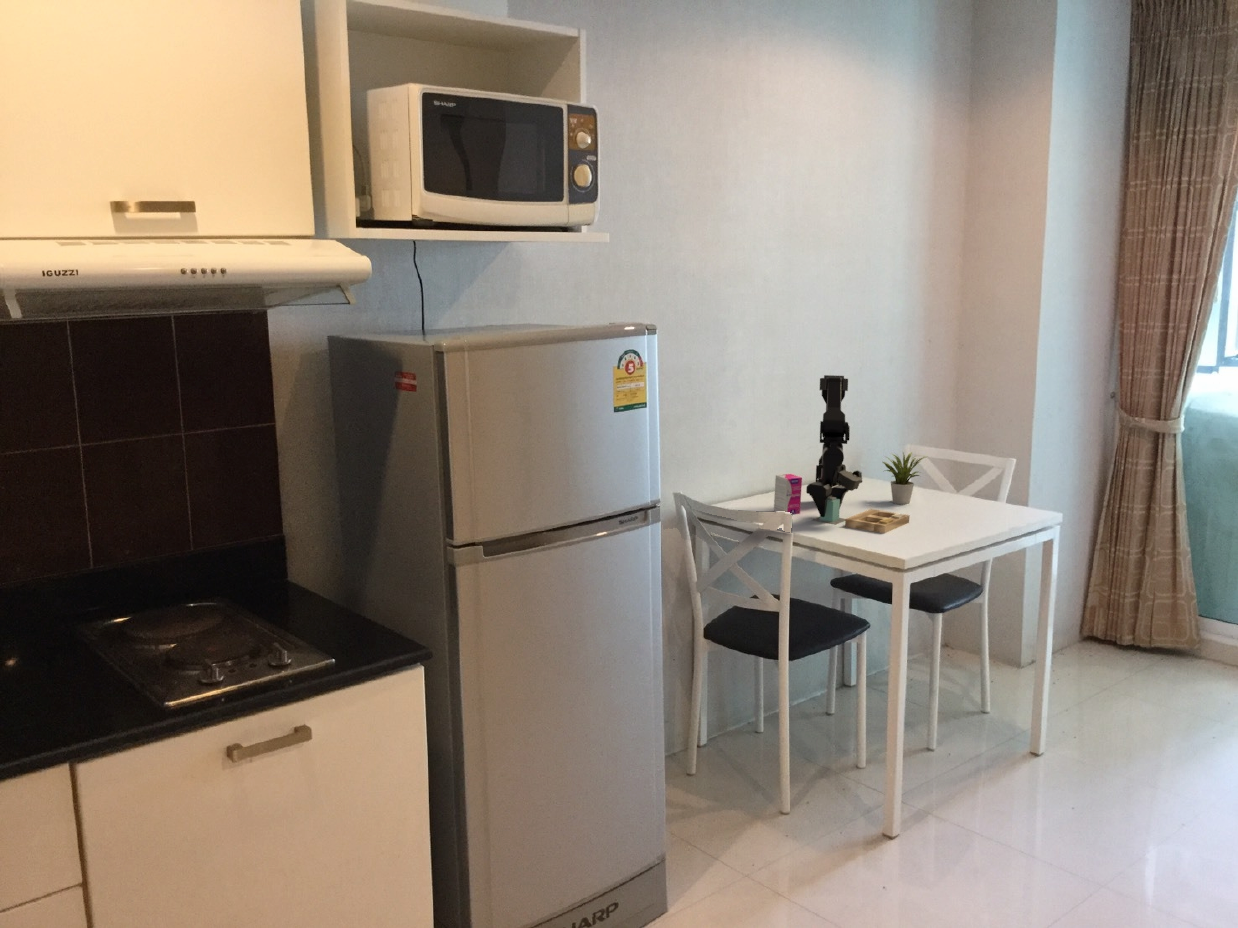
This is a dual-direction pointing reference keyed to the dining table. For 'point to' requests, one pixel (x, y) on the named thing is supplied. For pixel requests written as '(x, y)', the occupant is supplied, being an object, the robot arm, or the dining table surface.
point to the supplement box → (787, 493)
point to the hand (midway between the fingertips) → (829, 514)
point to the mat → (828, 521)
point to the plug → (832, 510)
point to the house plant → (902, 479)
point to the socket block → (877, 521)
